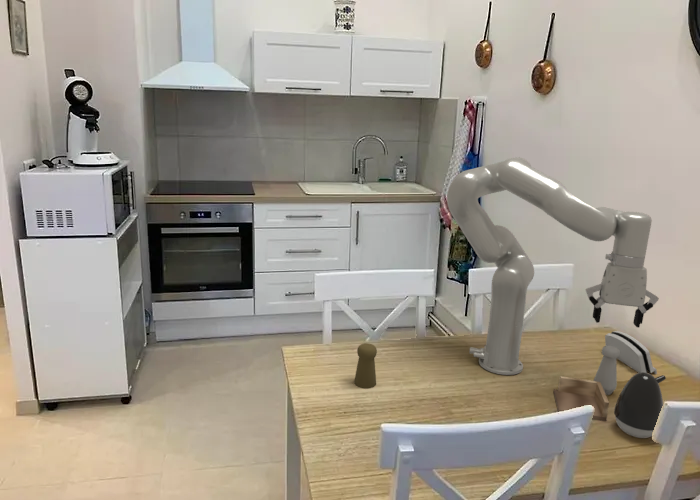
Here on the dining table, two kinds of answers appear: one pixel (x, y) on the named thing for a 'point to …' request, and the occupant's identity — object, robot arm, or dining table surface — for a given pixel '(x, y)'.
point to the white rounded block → (631, 351)
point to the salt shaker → (608, 369)
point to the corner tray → (581, 396)
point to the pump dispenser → (639, 405)
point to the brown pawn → (366, 366)
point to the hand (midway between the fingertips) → (616, 323)
